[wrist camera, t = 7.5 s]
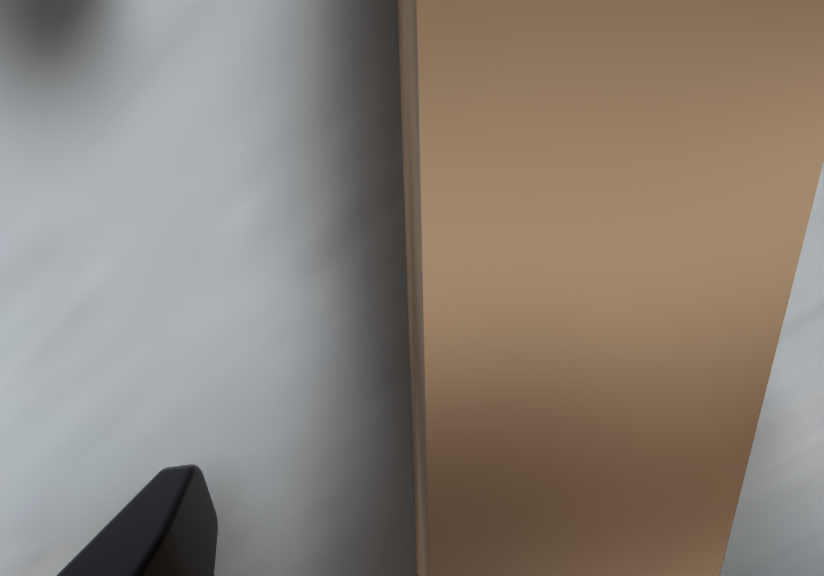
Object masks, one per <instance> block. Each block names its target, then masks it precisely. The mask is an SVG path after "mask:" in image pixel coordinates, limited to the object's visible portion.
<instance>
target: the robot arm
mask: <svg viewBox="0 0 824 576" xmlns="http://www.w3.org/2000/svg"><path fill="white" fill-rule="evenodd" d="M217 532H218V524H217V516H216V512H215V509H214V506H213V503H212V500H211V497H210V494H209V491H208V488H207V485H206V482H205V479H204V476H203V473H202V471H201V470H200V468H199V467H198V466H196V465H194V464H190V465H183V466H175V467H168V468H165V469H163V470H161V471H160V472H159V473H158V474H157V475H156V476H155V477H154V478H153V479H152V480H151V481H150V482H149V483H148V484H147V485H146V486H145V487H144V488H143V489H142V490H141V491H140V492H139V493H138V494H137V495H136V496H135V497H134V498H133V499H132V500H131V501H130V502H129V503H128V504H127V505H126V506H125V507H124V508H123V509H122V510H121V511H120V512H119V513H118V514H117V515H116V516H115V517H114V518H113V519H112V520H111V521H110V522H109V523H108V524H107V525H106V526H105V527H104V528H103V529H102V530H101V531H100V532H99V533H98V534H97V535H96V536H95V537H94V538H93V539H92V541H91V542H90V543H89V544H88V545H87V546H86V547H85V548H84V549H83V550H82V551H81V552H80V553H79V554H78V555H77V556H76V557H75V558H74V559H73V560H72V561H71V562H70V563H69V564H68V565H67V566H66V567H65V568H64V569H63V570H62V571H61V572H60V573H59V574H58V575H57V576H214V568H215V556H216V545H217Z"/></svg>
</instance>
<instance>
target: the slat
mask: <svg viewBox="0 0 824 576" xmlns="http://www.w3.org/2000/svg"><path fill="white" fill-rule="evenodd" d="M397 7H398V36H399V66H400V95H401V124H402V153H403V183H404V212H405V241H406V270H407V300H408V329H409V358H410V388H411V417H412V446H413V475H414V505H415V534H416V563H417V576H719V575H720V571H721V567H722V563H723V559H724V555H725V551H726V547H727V543H728V539H729V535H730V531H731V527H732V523H733V519H734V515H735V511H736V507H737V503H738V499H739V495H740V491H741V487H742V483H743V479H744V475H745V471H746V467H747V463H748V459H749V455H750V451H751V447H752V443H753V439H754V435H755V431H756V427H757V423H758V419H759V415H760V411H761V407H762V403H763V399H764V395H765V391H766V387H767V383H768V379H769V375H770V371H771V367H772V363H773V359H774V355H775V351H776V347H777V343H778V339H779V335H780V331H781V327H782V323H783V319H784V315H785V312H786V308H787V304H788V300H789V296H790V292H791V288H792V284H793V280H794V276H795V272H796V268H797V264H798V260H799V256H800V252H801V248H802V244H803V240H804V236H805V232H806V228H807V224H808V220H809V216H810V212H811V208H812V204H813V200H814V196H815V192H816V188H817V184H818V180H819V176H820V172H821V168H822V164H823V160H824V0H397Z"/></svg>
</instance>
